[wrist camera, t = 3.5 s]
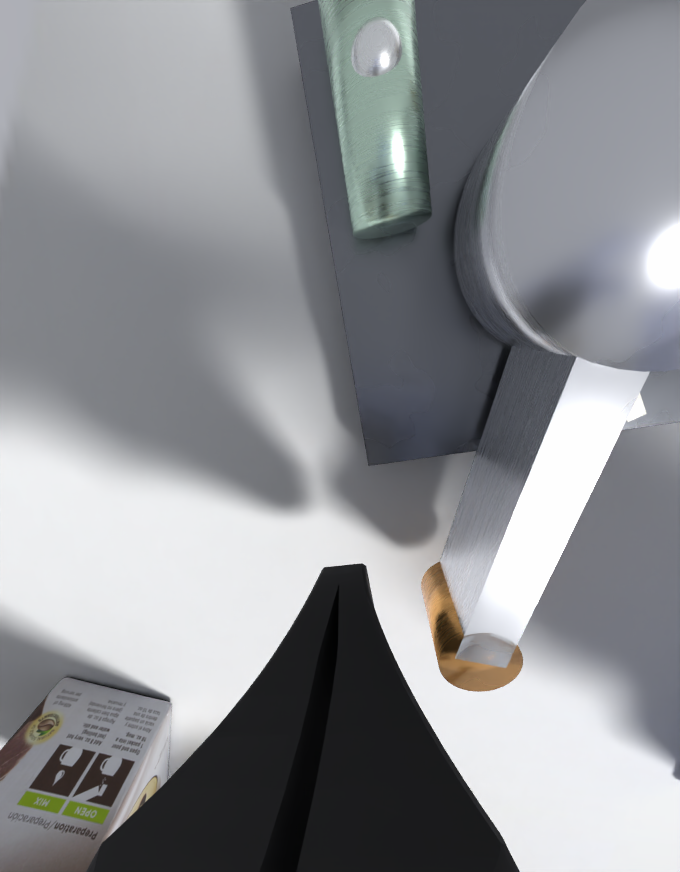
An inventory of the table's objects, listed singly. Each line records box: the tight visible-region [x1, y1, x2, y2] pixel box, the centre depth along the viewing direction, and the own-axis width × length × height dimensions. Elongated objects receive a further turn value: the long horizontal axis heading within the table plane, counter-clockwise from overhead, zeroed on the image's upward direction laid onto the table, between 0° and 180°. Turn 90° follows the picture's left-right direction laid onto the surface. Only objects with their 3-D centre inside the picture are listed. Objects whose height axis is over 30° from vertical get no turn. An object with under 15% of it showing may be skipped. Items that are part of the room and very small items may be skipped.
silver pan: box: [421, 0, 680, 691], centre depth 8 cm, size 15×6×3 cm, turn 171°
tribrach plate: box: [291, 0, 680, 466], centre depth 8 cm, size 11×12×4 cm
